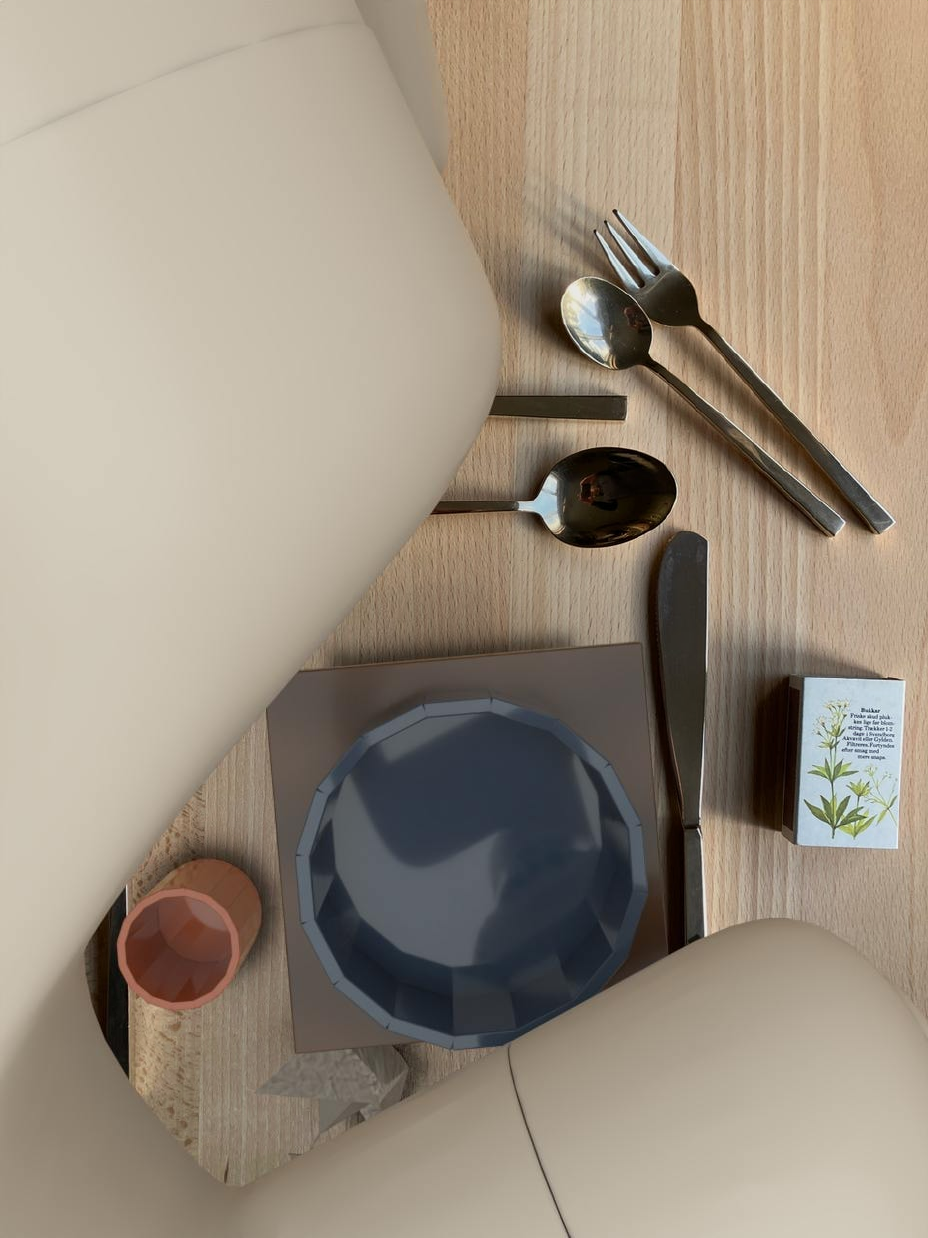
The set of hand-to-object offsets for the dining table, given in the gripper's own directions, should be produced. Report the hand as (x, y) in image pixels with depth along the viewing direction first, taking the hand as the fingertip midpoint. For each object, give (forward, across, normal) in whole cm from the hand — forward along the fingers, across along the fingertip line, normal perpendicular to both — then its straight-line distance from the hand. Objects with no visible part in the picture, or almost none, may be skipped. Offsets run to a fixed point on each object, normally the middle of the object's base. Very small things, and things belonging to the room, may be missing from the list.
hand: (610, 1032), depth 43 cm
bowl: (+1, +1, -9) cm, 9 cm away
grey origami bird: (+25, +18, +3) cm, 31 cm away
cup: (+25, +20, -10) cm, 34 cm away
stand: (+25, +1, -9) cm, 27 cm away
